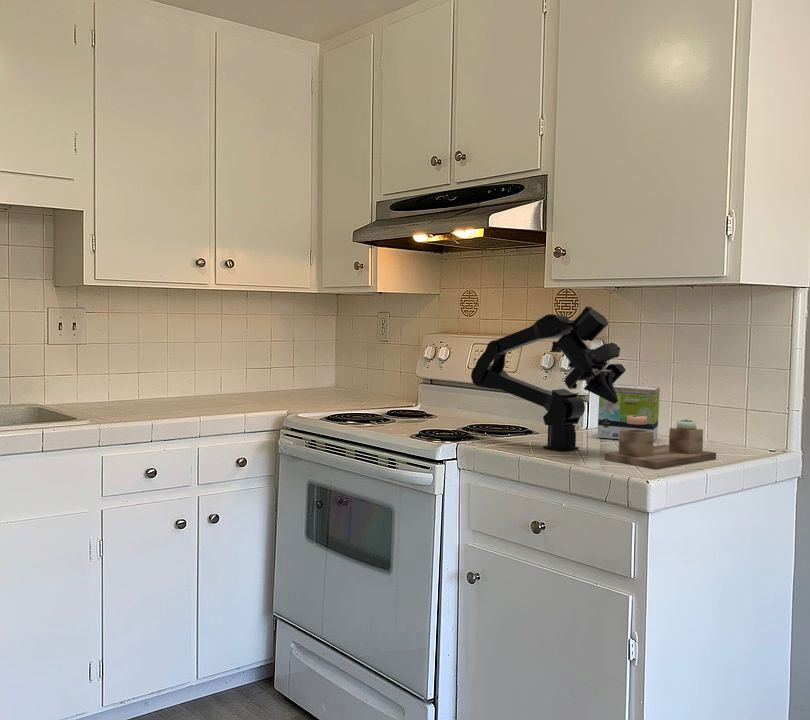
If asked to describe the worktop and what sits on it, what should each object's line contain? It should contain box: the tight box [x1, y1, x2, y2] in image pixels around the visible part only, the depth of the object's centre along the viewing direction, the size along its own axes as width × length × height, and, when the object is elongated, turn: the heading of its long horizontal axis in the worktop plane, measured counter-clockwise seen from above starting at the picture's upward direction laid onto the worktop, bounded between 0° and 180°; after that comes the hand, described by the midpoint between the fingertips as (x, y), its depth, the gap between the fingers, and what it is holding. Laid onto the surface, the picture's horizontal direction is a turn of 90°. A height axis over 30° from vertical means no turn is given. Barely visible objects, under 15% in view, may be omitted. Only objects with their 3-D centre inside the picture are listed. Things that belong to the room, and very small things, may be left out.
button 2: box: [676, 419, 697, 429], centre depth 191 cm, size 4×4×2 cm
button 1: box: [627, 415, 647, 425], centre depth 185 cm, size 4×4×2 cm
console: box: [604, 426, 717, 470], centre depth 188 cm, size 14×24×7 cm, turn 128°
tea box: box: [597, 383, 661, 442], centre depth 221 cm, size 15×10×15 cm, turn 65°
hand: (616, 402), depth 189 cm, fingers closed
